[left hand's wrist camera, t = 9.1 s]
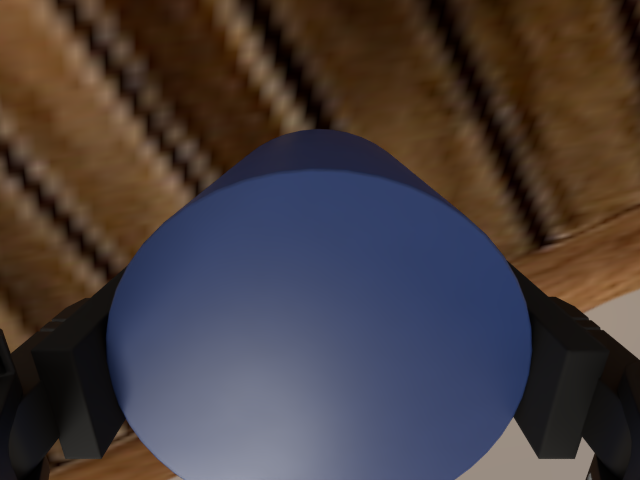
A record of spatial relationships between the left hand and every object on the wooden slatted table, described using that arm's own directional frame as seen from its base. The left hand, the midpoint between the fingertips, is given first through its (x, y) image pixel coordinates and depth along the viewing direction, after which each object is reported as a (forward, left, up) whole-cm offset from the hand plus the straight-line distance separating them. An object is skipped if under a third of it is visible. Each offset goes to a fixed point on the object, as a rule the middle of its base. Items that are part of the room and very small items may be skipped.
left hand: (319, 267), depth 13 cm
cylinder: (0, 0, -3) cm, 3 cm away
